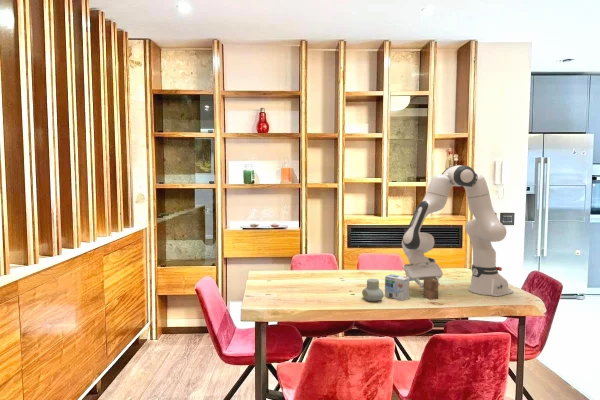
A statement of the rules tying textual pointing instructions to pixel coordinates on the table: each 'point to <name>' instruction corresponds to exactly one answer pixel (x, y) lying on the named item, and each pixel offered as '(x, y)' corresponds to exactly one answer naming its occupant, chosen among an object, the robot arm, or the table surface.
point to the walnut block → (430, 289)
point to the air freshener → (372, 291)
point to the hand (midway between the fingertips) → (430, 286)
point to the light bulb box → (397, 287)
